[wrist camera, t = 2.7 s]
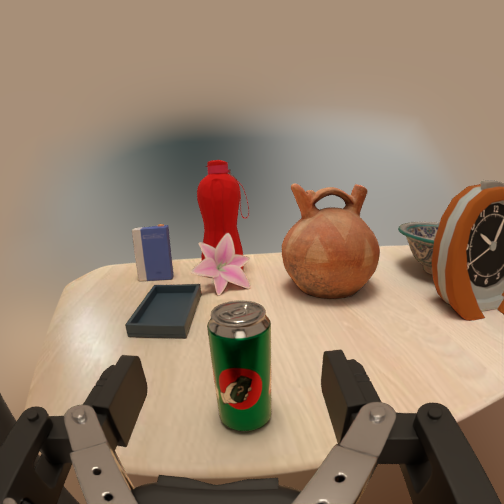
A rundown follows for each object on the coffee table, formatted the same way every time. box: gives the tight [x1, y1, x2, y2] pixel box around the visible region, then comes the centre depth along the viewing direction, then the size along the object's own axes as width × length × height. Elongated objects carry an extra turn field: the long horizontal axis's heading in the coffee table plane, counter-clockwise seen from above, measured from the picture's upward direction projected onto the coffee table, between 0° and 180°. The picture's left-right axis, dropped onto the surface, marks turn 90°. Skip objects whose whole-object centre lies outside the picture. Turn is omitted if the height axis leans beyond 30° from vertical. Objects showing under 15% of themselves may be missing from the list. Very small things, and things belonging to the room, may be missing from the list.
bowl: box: [398, 222, 440, 275], centre depth 61 cm, size 25×25×10 cm
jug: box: [282, 184, 380, 299], centre depth 55 cm, size 18×18×20 cm
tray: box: [126, 284, 201, 338], centre depth 50 cm, size 16×9×2 cm, turn 1°
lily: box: [191, 233, 250, 296], centre depth 61 cm, size 12×12×10 cm
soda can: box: [207, 301, 271, 431], centre depth 25 cm, size 5×5×12 cm
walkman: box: [132, 224, 174, 281], centre depth 65 cm, size 8×3×12 cm, turn 96°
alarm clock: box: [432, 180, 504, 320], centre depth 41 cm, size 22×10×23 cm, turn 86°
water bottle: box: [197, 160, 248, 270], centre depth 67 cm, size 9×11×25 cm
